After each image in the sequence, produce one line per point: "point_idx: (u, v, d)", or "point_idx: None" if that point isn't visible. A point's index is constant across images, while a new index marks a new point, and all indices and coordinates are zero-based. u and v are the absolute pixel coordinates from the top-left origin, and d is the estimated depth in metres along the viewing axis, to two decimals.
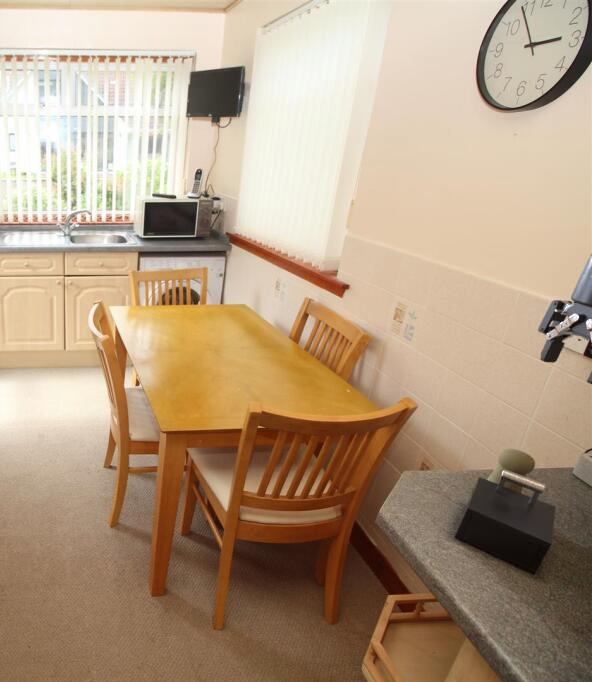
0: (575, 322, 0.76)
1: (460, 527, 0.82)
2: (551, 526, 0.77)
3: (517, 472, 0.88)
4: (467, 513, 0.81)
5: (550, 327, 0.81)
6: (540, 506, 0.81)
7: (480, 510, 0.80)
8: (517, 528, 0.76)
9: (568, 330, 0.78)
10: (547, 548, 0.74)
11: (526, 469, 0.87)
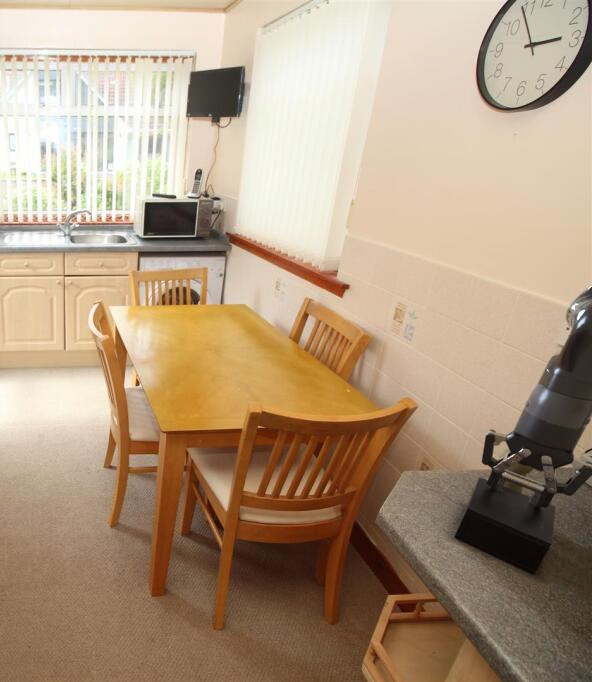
0: (525, 455, 0.80)
1: (460, 527, 0.82)
2: (551, 526, 0.77)
3: (517, 472, 0.88)
4: (467, 513, 0.81)
5: None
6: None
7: (480, 510, 0.80)
8: (517, 528, 0.76)
9: None
10: (547, 548, 0.74)
11: (526, 469, 0.87)
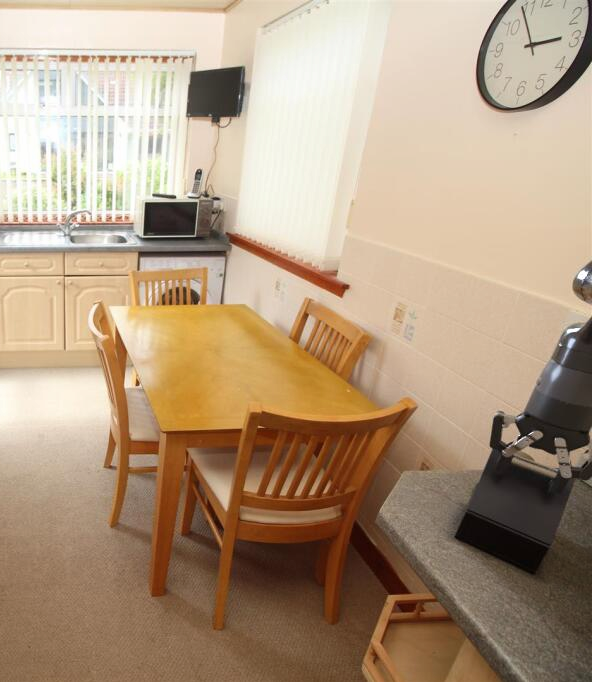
0: None
1: (460, 527, 0.82)
2: (560, 514, 0.75)
3: None
4: (467, 513, 0.81)
5: None
6: None
7: (480, 509, 0.79)
8: (517, 528, 0.76)
9: None
10: (547, 548, 0.74)
11: None
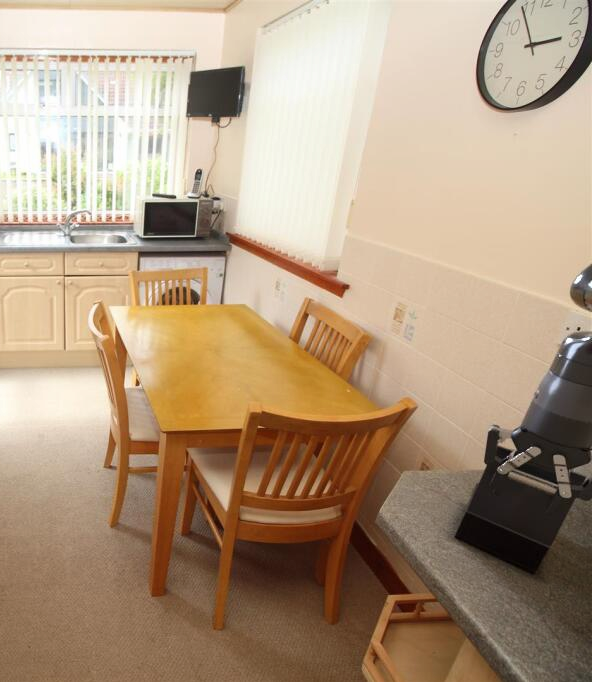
0: None
1: (460, 527, 0.82)
2: (563, 517, 0.72)
3: None
4: (467, 513, 0.81)
5: None
6: None
7: (480, 511, 0.79)
8: (516, 530, 0.76)
9: None
10: (547, 548, 0.74)
11: None
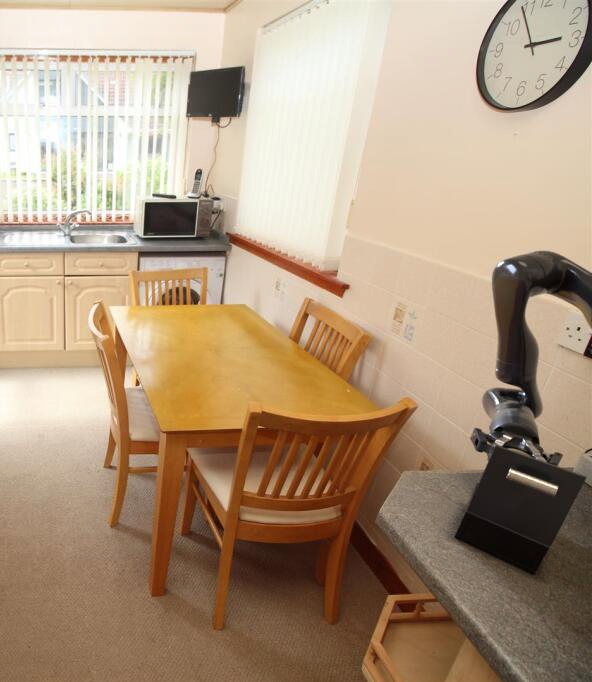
0: None
1: (460, 527, 0.82)
2: (563, 517, 0.72)
3: None
4: (467, 513, 0.81)
5: None
6: (563, 483, 0.71)
7: (480, 511, 0.79)
8: (516, 530, 0.76)
9: None
10: (547, 548, 0.74)
11: None
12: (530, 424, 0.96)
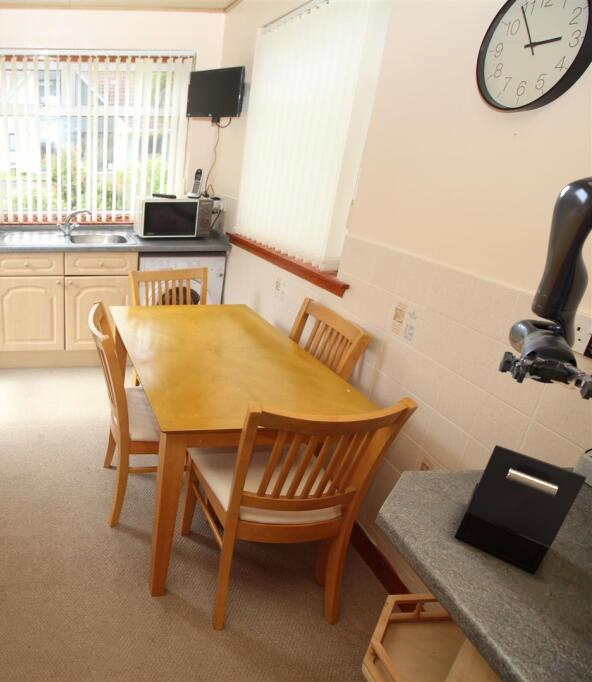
0: (554, 381, 0.87)
1: (460, 527, 0.82)
2: (563, 517, 0.72)
3: None
4: (467, 513, 0.81)
5: None
6: (563, 483, 0.71)
7: (480, 511, 0.79)
8: (516, 530, 0.76)
9: None
10: (547, 548, 0.74)
11: None
12: (566, 347, 0.89)
